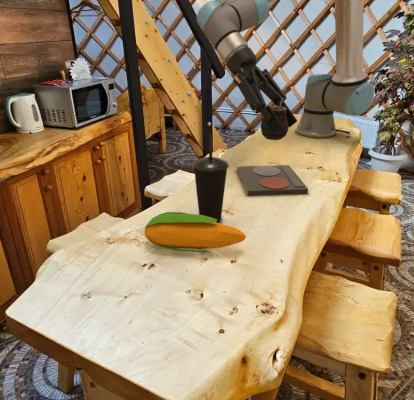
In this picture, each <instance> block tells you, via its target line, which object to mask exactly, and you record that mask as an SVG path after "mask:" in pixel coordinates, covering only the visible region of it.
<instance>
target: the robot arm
mask: <svg viewBox="0 0 414 400" xmlns="http://www.w3.org/2000/svg"><path fill="white" fill-rule="evenodd" d="M277 1H278V0H209V1H207V2H205V3H204V4H203V5H202V6H201V7H200V8H199V9H198V11H197V14H196V22H197V24H198V26H199V28H200V30H201V31H202V34H204V35H205V37H206V38H207V40H208V41H209V42H210V44H211V45H212V47H213V48H214V50H215V51H216V52H217V54H218V55H219V56H220V59H221V60H222V61H223V63H224V64H226V67H227V70H229V72H230V74H232V77H234V78H233V79H232V82H234V84H235V85H236V87H237V88H238V89H239V91H240V93H241V95H242V96H243V98H244V99H245V101H246V103H247V104H248V106H249V108H250V110H251V111H252V112H254V113H255V114H256V115H258V114H259V113H260V114H261V116H262V118H263V117H264V118H265V120H266V121H267V123H268V124H269V126H270V127H271V128H272V130H273V131H274V133H277V132H278V131H279V130H280V129H281V128H283V127H284V126H283V125H282V123H281V122H280V120H279V119H278V117H277V116H276V115H275V113H274V112H273V110H272V109H271V107H270V106H271V105H267V103H266V101H265V98H264V96H263V94H264V95H265V96H266V97H267V98H268V99H269V100H270V101H271V102H272V103H273V104H274V106H279V105H280V102H281V99H282V98H284V100H283V103H282V107H285V108H287V114H286V115H287V120H288V126H289V127H288V128H291V127H292V126H293V125H295V124H296V123H297V122H298V123H297V126H296V133H297V134H298V135H301V136H304V137H308V138H318V139H326V138H331V137H334V136H336V132H338V133H343V134H347V135H350V134H351V131H346V130H342V129H338V128H336V124H335V123H336V122H335V119H334V118H335V117H334V113H339V114H342V115H343V114H344V115H346V116H354V117H356V116H361V115H363V114H364V113H366V111H367V110H368V109H369V107H370V106H371V104H372V102H373V100H374V97H375V87H374V86H373V84H372V83H370V82H368V73H367V72H366V71H364V70H363V69H364V68H363V65H364V61H363V60H364V59H363V58H364V16H365V15H364V14H365V13H364V9H365V7H364V6H365V0H334V29H335V31H334V33H335V73H321V74H319V73H318V74H311V75H309V76H307V80H306V85H305V91H304V102H303V110H302V111H303V112H302V116H301V117H300V119H299V120H298V119H297V118H296V116H295V115H294V113H293V112H292V111H291V109H290V108H289V106H288V105H287V103H286V102H285V101H286V100H287V95H286V94H285V93H284V91H283V90H282V89H281V88H280V86H279V85H278V84H277V82H276V81H275V80H274V78H273V77H272V76H271V73H270V72H269V70H268V69H266V68H264V69H263V70H261V69H260V67H258V66H257V65H256V64H257V61H258V60H257V59H258V58H257V55H256V54H255V52H254V51H253V50H252V48H251V47H249V44H248V42H247V41H246V40H245V38H244V37H243V35H242V34H241V33H243V32H245V31H247V30H249V29H251V28H254V27H256V26H259V25H260V24H262V23H264V22H265V21H266V20H268V18H269V15H270V6H269V5H271V4H273V3H274V2H277ZM262 93H263V94H262Z"/></svg>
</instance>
